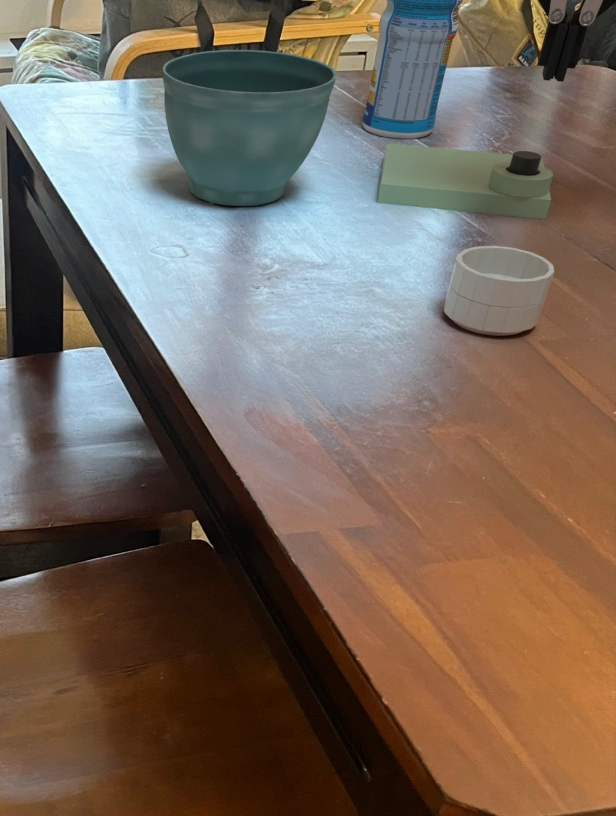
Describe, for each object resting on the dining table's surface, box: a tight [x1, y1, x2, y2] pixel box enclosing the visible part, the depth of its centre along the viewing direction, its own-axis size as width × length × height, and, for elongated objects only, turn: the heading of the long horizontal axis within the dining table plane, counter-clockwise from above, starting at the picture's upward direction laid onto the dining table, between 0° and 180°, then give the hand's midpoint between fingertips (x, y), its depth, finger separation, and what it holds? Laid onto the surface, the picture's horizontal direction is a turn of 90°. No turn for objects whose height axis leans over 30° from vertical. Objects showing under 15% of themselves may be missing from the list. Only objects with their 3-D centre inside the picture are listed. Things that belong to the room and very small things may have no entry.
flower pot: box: [162, 49, 338, 207], centre depth 102 cm, size 16×16×11 cm
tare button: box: [508, 150, 542, 176], centre depth 101 cm, size 3×3×2 cm
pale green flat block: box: [376, 142, 554, 220], centre depth 106 cm, size 16×14×4 cm
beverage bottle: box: [362, 0, 464, 140], centre depth 116 cm, size 8×8×20 cm
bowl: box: [443, 245, 555, 337], centre depth 82 cm, size 7×7×4 cm
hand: (552, 76), depth 89 cm, fingers closed
